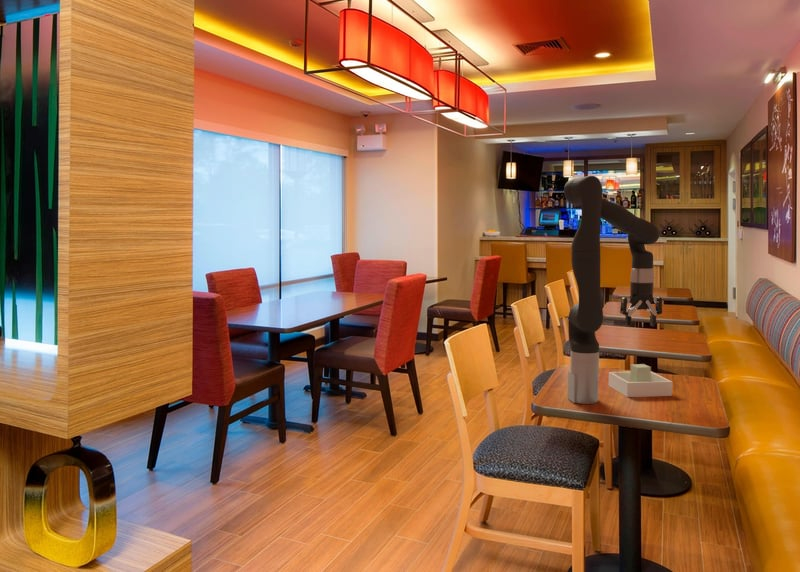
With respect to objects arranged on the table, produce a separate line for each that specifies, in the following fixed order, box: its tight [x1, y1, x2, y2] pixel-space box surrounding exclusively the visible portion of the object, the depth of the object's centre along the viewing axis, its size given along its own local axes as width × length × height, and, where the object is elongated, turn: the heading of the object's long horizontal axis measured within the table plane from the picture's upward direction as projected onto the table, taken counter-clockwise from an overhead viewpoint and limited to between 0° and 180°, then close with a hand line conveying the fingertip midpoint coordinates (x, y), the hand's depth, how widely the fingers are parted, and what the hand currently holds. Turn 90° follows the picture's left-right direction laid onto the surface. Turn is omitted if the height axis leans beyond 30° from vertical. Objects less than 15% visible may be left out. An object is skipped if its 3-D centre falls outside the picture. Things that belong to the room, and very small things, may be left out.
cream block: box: [630, 363, 652, 382], centre depth 220 cm, size 5×5×8 cm
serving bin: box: [608, 370, 673, 398], centre depth 220 cm, size 16×16×5 cm
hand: (640, 326), depth 218 cm, fingers open, 8 cm apart
